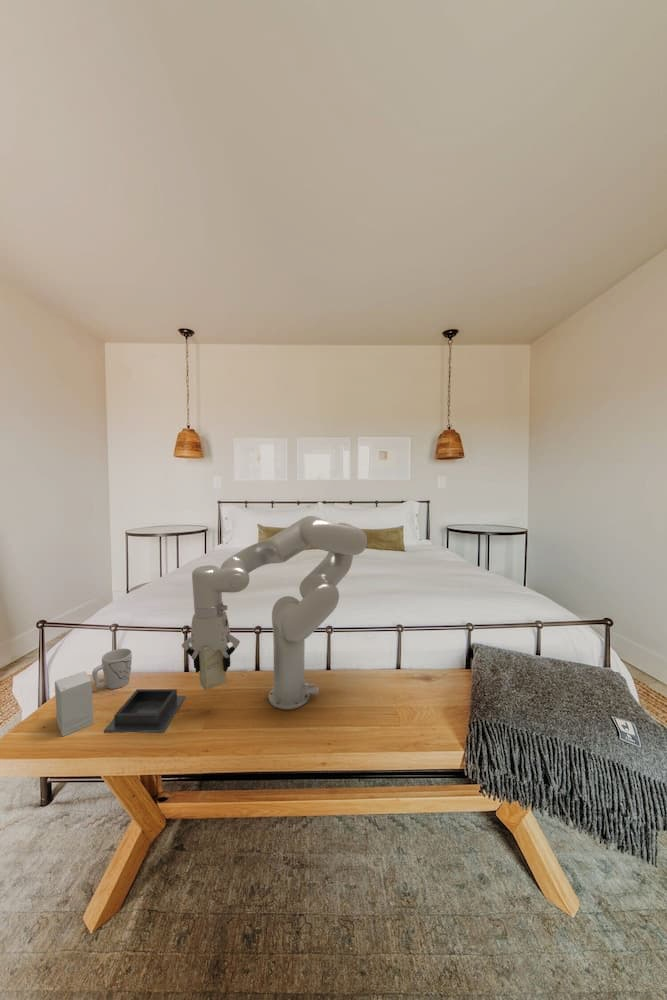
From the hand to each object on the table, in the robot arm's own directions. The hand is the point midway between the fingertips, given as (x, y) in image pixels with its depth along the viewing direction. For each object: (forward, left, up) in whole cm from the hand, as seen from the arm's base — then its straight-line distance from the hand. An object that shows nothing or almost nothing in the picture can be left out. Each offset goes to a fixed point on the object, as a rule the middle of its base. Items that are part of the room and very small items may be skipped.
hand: (212, 669), depth 106 cm
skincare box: (0, 0, -5) cm, 5 cm away
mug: (+37, -14, -14) cm, 42 cm away
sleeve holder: (+19, 0, -14) cm, 23 cm away
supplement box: (+37, +4, -14) cm, 40 cm away
